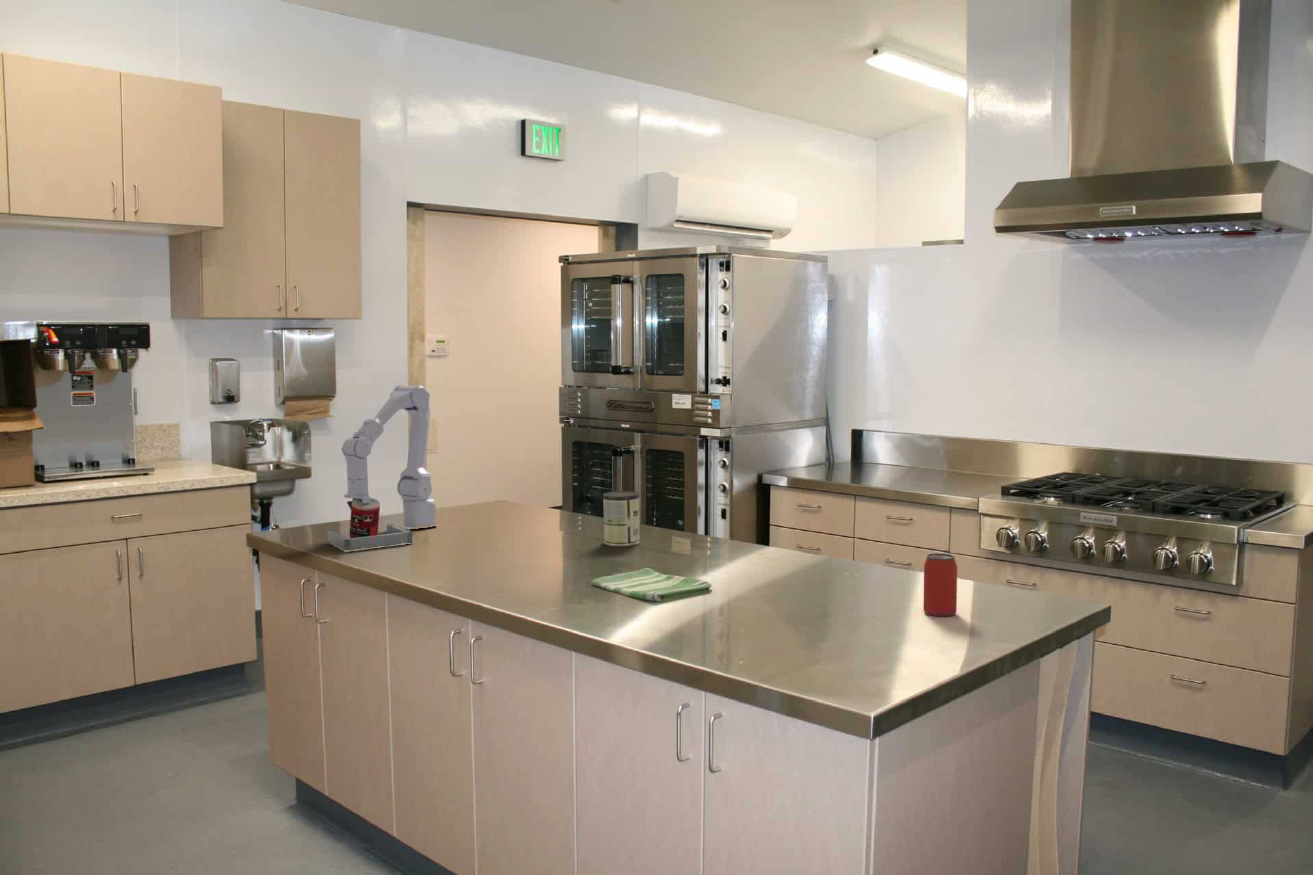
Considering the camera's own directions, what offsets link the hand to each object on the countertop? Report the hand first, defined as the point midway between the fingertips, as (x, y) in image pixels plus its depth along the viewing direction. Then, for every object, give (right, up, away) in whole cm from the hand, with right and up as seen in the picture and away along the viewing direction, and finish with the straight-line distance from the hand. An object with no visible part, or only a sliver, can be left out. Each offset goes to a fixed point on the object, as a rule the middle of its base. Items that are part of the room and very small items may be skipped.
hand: (359, 524), depth 295 cm
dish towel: (+86, -10, -62) cm, 107 cm away
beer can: (+145, -11, -87) cm, 170 cm away
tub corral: (+5, -5, -7) cm, 9 cm away
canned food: (+2, -4, -3) cm, 5 cm away
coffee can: (+77, -5, -9) cm, 78 cm away
